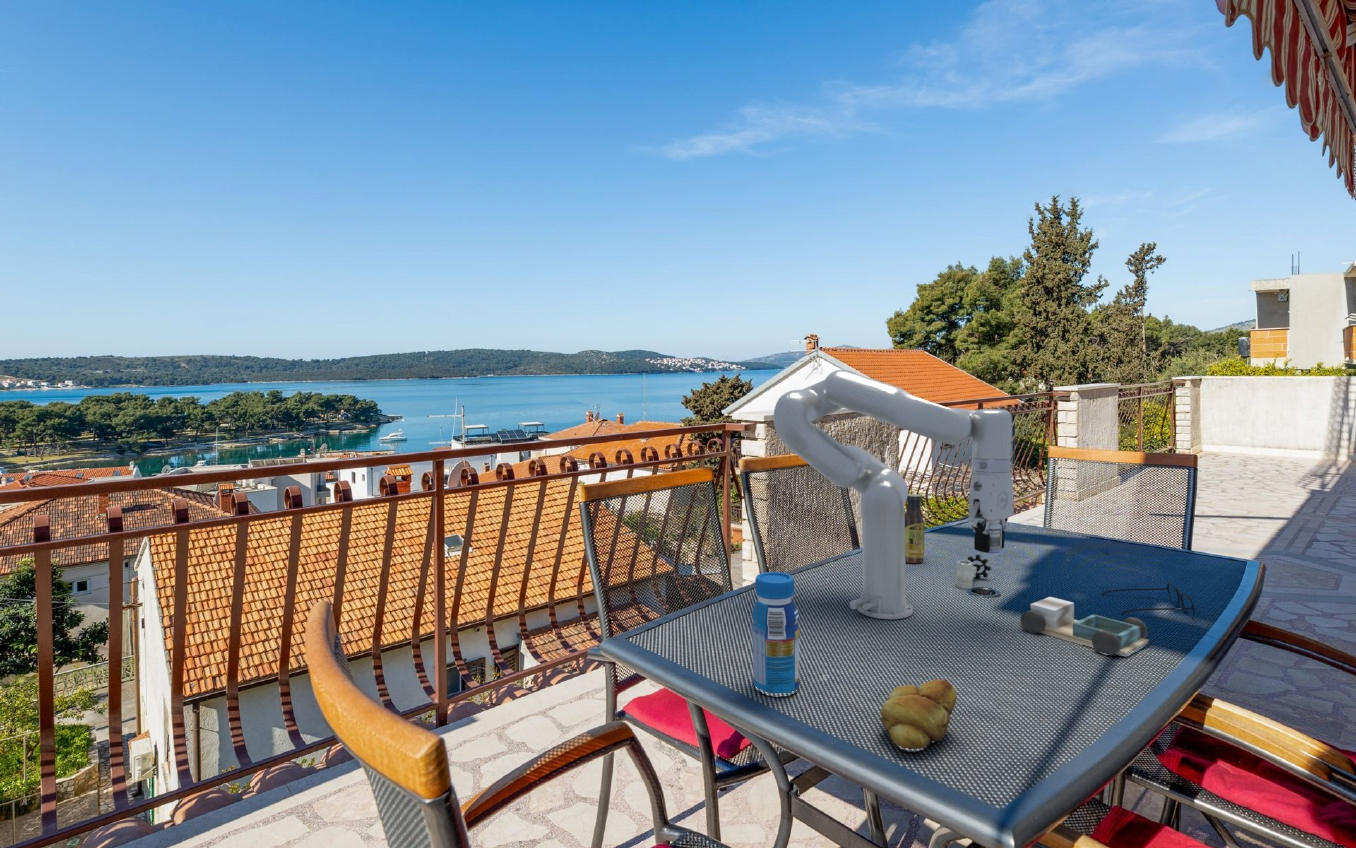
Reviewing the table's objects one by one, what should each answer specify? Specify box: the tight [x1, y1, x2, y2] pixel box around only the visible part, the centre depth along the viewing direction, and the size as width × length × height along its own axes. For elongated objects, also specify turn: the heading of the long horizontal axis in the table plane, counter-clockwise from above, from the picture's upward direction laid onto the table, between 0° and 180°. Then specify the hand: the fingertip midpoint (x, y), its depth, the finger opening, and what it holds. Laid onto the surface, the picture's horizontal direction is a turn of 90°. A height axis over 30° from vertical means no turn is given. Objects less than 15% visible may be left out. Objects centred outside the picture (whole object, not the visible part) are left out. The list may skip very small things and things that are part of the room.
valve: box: [955, 553, 992, 590], centre depth 169 cm, size 7×7×12 cm
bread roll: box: [880, 679, 957, 749], centre depth 97 cm, size 13×10×8 cm
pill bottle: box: [977, 516, 1003, 557], centre depth 140 cm, size 5×5×8 cm
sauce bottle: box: [904, 493, 926, 564], centre depth 190 cm, size 6×6×20 cm
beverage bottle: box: [750, 571, 801, 693], centre depth 113 cm, size 8×8×20 cm
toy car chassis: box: [1020, 596, 1150, 656], centre depth 133 cm, size 13×20×5 cm, turn 33°
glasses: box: [1101, 582, 1196, 617], centre depth 149 cm, size 14×15×5 cm
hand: (989, 548), depth 140 cm, fingers closed on pill bottle, 4 cm apart
